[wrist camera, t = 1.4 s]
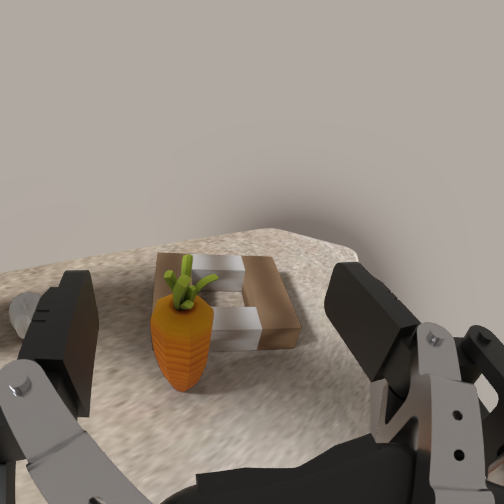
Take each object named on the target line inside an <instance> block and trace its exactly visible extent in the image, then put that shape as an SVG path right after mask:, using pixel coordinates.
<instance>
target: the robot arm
mask: <svg viewBox="0 0 504 504" xmlns="http://www.w3.org/2000/svg"><path fill="white" fill-rule="evenodd" d="M324 308H325V313H326V315H327V317H328V318H329V320H330V321H331V323H332V324H333V326H334V327H335V329H336V330H337V332H338V333H339V335H340V336H341V338H342V339H343V341H344V342H345V344H346V345H347V346H348V348H349V349H350V351H351V352H352V354H353V355H354V357H355V358H356V360H357V361H358V363H359V364H360V366H361V367H362V369H363V370H364V372H365V374H366V375H367V377H368V378H369V380H370V381H371V382H374V381H377V380H381V379H384V378H385V379H386V381H387V382H386V384H385V386H384V388H383V395H382V404H381V411H380V418H379V425H378V431H377V434H376V437H375V439H374V438H373V436H372V434H371V433H370V434H367V435H364V436H362V437H359V438H356V439H353V440H350V441H347V442H344V443H341V444H338V445H335V446H333V447H332V448H330V449H329V450H327V451H325V452H324V453H322V454H320V455H319V456H317V457H315V458H314V459H312V460H310V461H308V462H307V463H305V464H303V465H301V466H299V467H296V468H239V469H233V470H226V471H219V472H211V473H202V474H196V485H193V486H190V487H187V488H185V489H183V490H181V491H179V492H176V493H175V494H173V495H172V496H170V497H168V498H167V499H165V500H164V501H163V502H162V503H160V504H504V345H503V344H502V343H501V342H500V341H499V339H498V338H497V337H496V336H495V335H494V334H493V333H492V332H491V331H489V330H488V329H486V328H485V327H482V326H478V325H474V326H471V327H470V328H469V330H468V332H467V333H466V335H465V337H464V338H459V337H452V335H451V334H450V333H449V332H448V331H447V330H446V329H445V328H443V327H442V326H440V325H438V324H435V323H430V322H425V323H422V324H421V323H420V321H419V320H418V319H417V318H416V317H415V316H414V315H413V314H412V313H411V312H410V311H409V310H408V309H407V308H406V306H405V305H404V304H402V302H401V301H400V300H397V297H396V296H395V295H394V294H393V293H391V292H390V290H389V289H388V288H387V287H386V286H385V285H384V284H383V283H382V282H381V281H379V280H378V279H376V278H374V277H373V276H372V275H371V274H370V273H369V272H368V271H367V270H366V269H365V268H364V267H363V266H362V265H361V264H360V263H358V262H342V263H337V264H336V265H335V267H334V269H333V272H332V276H331V279H330V283H329V286H328V290H327V293H326V296H325V301H324ZM98 330H99V319H98V311H97V306H96V301H95V296H94V291H93V285H92V280H91V275H90V272H89V270H70V271H65V272H64V274H63V277H62V279H61V282H60V284H59V287H50V288H49V289H48V290H47V291H46V292H45V293H44V294H43V295H42V296H41V297H40V299H39V302H38V304H37V307H36V309H35V312H34V314H33V316H32V319H31V322H30V324H29V327H28V330H27V332H26V335H25V338H24V341H23V343H22V346H21V349H20V352H19V355H18V358H17V360H15V361H12V362H10V363H8V364H6V365H5V366H4V367H3V368H2V369H1V370H0V504H15V469H16V461H18V460H24V459H27V461H28V464H27V465H26V467H27V470H28V472H29V474H30V476H31V478H32V479H33V481H34V483H35V484H36V486H37V488H38V489H39V491H40V492H41V494H42V495H43V497H44V498H45V500H46V501H47V503H48V504H153V503H152V502H150V501H149V500H148V499H147V498H146V497H145V496H144V495H143V494H142V493H141V492H140V491H139V490H138V489H137V488H136V487H135V486H134V485H133V484H132V483H131V482H130V481H129V480H128V479H127V478H126V477H125V476H124V474H123V473H122V472H121V471H120V470H119V469H118V468H117V467H116V466H115V465H114V463H113V462H112V461H111V460H110V459H109V458H108V457H107V455H106V454H105V453H104V452H103V451H102V450H101V448H100V447H99V446H98V445H97V443H96V442H95V441H94V440H93V439H92V437H91V436H90V435H89V434H88V433H87V432H86V431H84V430H83V429H82V428H81V426H80V425H79V424H78V422H77V417H89V413H90V399H91V387H92V377H93V368H94V359H95V351H96V344H97V337H98ZM481 374H483V375H484V376H485V378H486V379H487V380H488V381H489V383H490V384H491V385H492V386H493V388H494V389H495V391H496V392H497V394H498V398H499V400H498V404H497V406H496V407H495V408H494V410H493V411H492V412H491V413H489V412H488V410H487V409H486V407H485V406H484V405H483V403H482V402H481V401H480V399H479V398H478V394H477V389H476V387H475V385H474V383H475V382H476V380H477V379H478V378H479V376H480V375H481ZM485 476H486V479H485Z"/></svg>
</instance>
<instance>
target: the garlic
mask: <svg viewBox="0 0 504 504" xmlns="http://www.w3.org/2000/svg"><path fill="white" fill-rule="evenodd" d="M40 297H41V295H39V294H37V293H32V292H25V293H21V294H20V295H18V296H17V297H16V298H14V299H13V301H12V302H11V304H10V307H9V316H10V321H11V324H12V326H13V327H14V328H15V330H16V332H17V334H18V336H19V337H20V338H22V339H24V338H25V335H26V332H27V330H28V327H29V324H30V322H31V319H32V316H33V314H34V312H35V309H36V307H37V304H38V302H39V299H40Z"/></svg>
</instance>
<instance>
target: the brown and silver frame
mask: <svg viewBox="0 0 504 504" xmlns="http://www.w3.org/2000/svg"><path fill="white" fill-rule="evenodd" d="M184 255H188V254H180V253H158V254H157V262H156V272H155V282H154V293H153V305H152V314H153V311H154V308H155V306H156V303H157V300H159V299H161V298H163V297H165V296H168V295H170V294H173V292H172V291H171V289H170V287H169V286H168V284H167V283H166V281H165V279H164V274H165V273H166V271H169V270H172V271H174V273H175V275H176V277H177V279H179V277H180V276H181V268H182V259H183V256H184ZM189 255H193V264H192V271H191V277H190V278H191V279H192V280H191V282H190V284H189V286H191V285H193V286H195V285H196V284H197V283H198V282H199V281H200V280H201V279H202V278H204V277H206V276H208V275H212V274H216V275H217V276H218V278H219V279H218V280H216V281H214V282H211V283H209V284H207V285H206V286H205V287H203V288H202V289H201V290H200V291H241V292H242V296H243V300H244V304H245V307H212V308H213V311H214V319H213V326H212V333H211V340H210V346H209V352H211V351H252V350H273V349H289V348H294V347H295V344H296V341H297V339H298V336H299V334H300V331H301V328H302V327H301V324H300V322H299V320H298V317H297V315H296V312H295V310H294V308H293V305H292V303H291V300H290V298H289V296H288V293H287V291H286V289H285V286H284V284H283V282H282V279H281V277H280V274H279V272H278V270H277V267H276V265H275V263H274V260H273V258H272V257H263V256H235V255H207V254H189ZM151 337H152V333H151ZM152 349H153V351H154V347H153V341H152Z"/></svg>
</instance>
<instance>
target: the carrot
mask: <svg viewBox="0 0 504 504" xmlns="http://www.w3.org/2000/svg"><path fill="white" fill-rule="evenodd" d="M192 264H193V255H189V254H188V255H184V256H183V259H182V268H181V276H180V277H179V279H177V277H176V275H175V273H174V271H172V270H169V271H166V273H165V274H164V279H165V281H166V283H167V284H168V286H169V287H170V289H171V291H172V292H173V294H170V295H168V296H165V297H163V298H161V299H159V300H157V303H156V306H155V308H154V311H153V314H152V317H151V321H150V325H151V333H152V341H153V347H154V352H155V356H156V359H157V362H158V364H159V367H160V369H161V371H162V373H163V375H164V376H165V377H166V379H167V380H168V381H169V382H170V384H171V385H172V386H173V387H174V388H175V389H176V390H178V391H180V392H185V391H187V390H188V389H190V388H191V387H193V386H194V385H195V384H196V383H197V382H198V381H199V379H200V377H201V375H202V373H203V371H204V368H205V365H206V363H207V357H208V352H209V346H210V340H211V333H212V326H213V319H214V311H213V308H212V307H211V306H209V305H208V304H207V303H206V302H205V301H204V300H203V299H202V298H201V297H200V296H198V295H197V294H198V292H199V291H200V290H201V289H202V288H203V287H205V286H206V285H207V284H209V283H211V282H214V281H216V280H218V279H219V278H218V276H217V275H216V274H212V275H208V276H206V277H204V278H202V279H201V280H200V281H199V282H198V283H197V284H196V285H195V286H193V285H191V286H189V284H190V282H191V280H192V279H191V278H190V277H191V271H192Z"/></svg>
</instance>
